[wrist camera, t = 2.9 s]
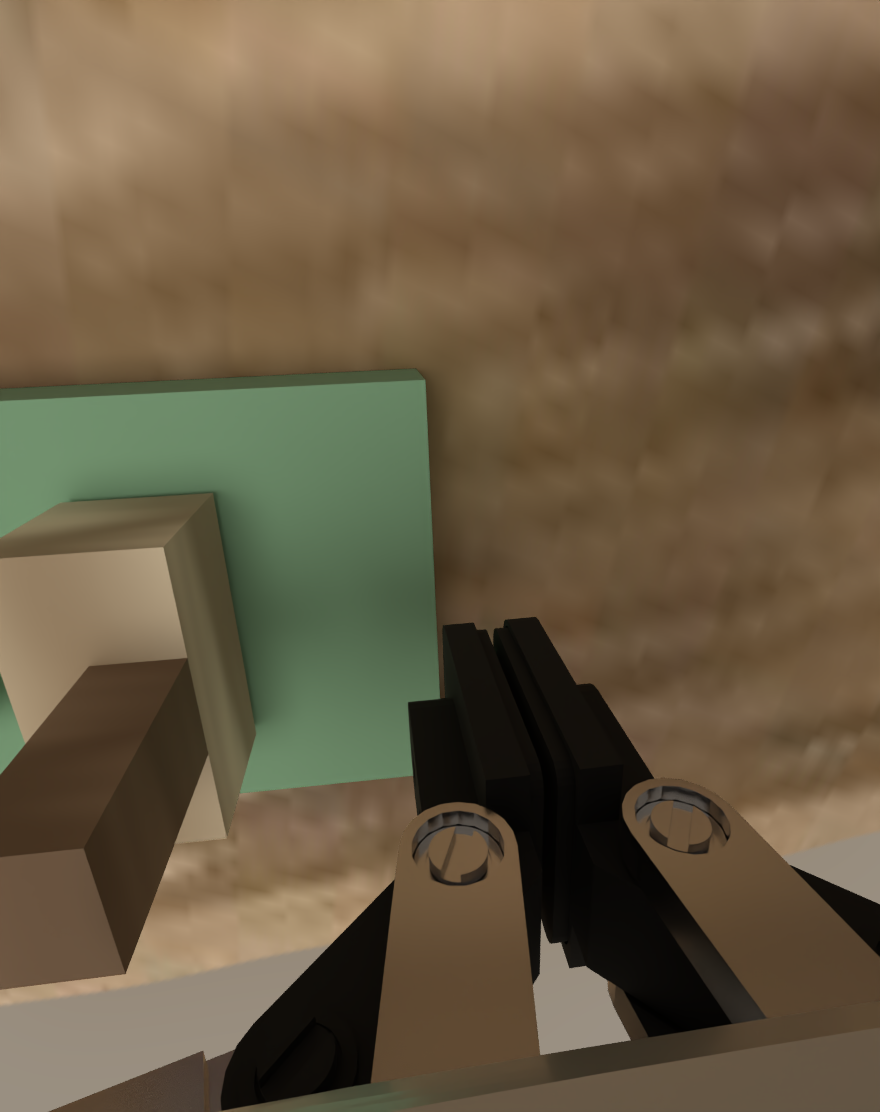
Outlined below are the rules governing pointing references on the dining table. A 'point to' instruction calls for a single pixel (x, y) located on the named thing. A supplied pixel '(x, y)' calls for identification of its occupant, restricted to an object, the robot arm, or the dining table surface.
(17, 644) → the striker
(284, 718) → the putting green
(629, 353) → the dining table surface
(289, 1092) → the robot arm
